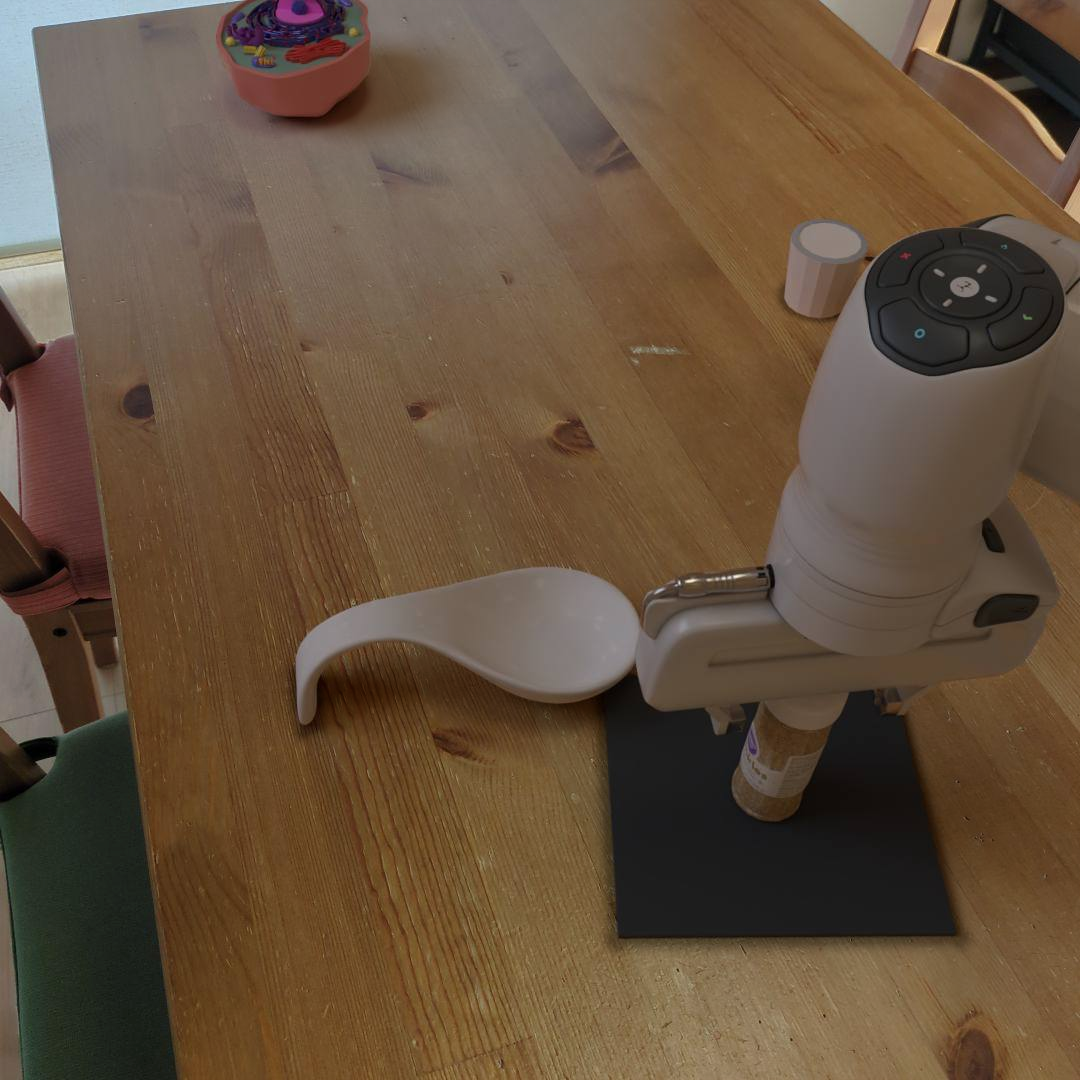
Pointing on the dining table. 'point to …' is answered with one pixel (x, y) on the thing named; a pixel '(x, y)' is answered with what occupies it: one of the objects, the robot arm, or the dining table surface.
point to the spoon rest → (495, 633)
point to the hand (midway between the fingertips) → (806, 714)
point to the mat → (767, 832)
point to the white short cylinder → (823, 266)
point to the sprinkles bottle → (783, 753)
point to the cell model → (295, 53)
